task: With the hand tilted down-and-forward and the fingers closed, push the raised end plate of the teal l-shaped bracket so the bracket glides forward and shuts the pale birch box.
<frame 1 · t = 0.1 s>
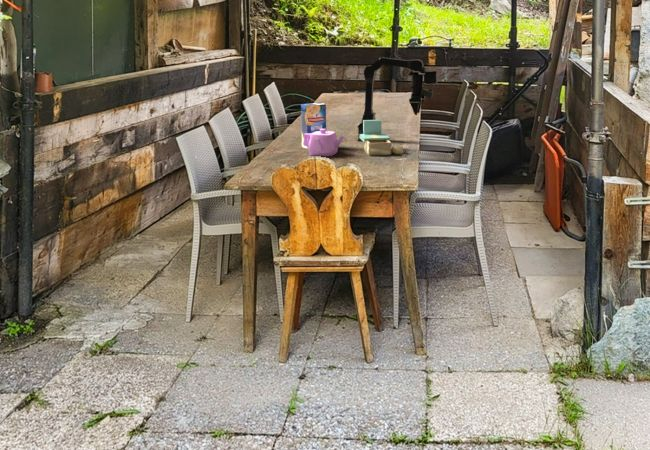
hand: (417, 113, 446), 15 cm above the table, tool pointing down, fingers open, 9 cm apart
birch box: (377, 152, 418), on the table
tape roll: (397, 153, 417), on the table
teakettle: (324, 154, 418), on the table
beverage box: (314, 147, 439), on the table
teal l-shaped bracket: (374, 130, 424), point 10 cm above the table, slide at 0.0 cm
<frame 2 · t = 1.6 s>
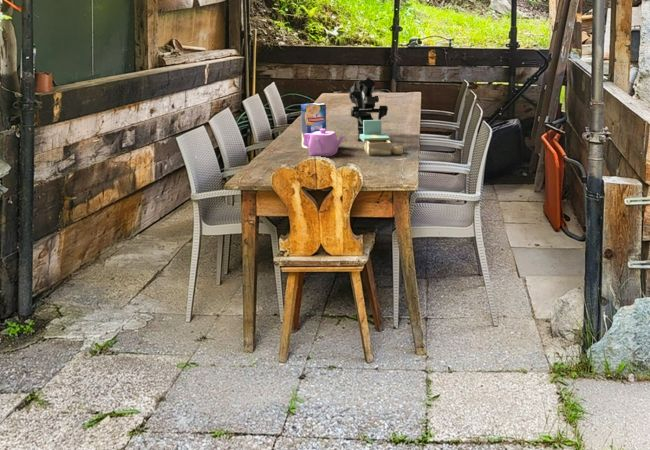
hand: (371, 124, 435), 11 cm above the table, tool tilted 45°, fingers open, 8 cm apart
nothing on the table moved.
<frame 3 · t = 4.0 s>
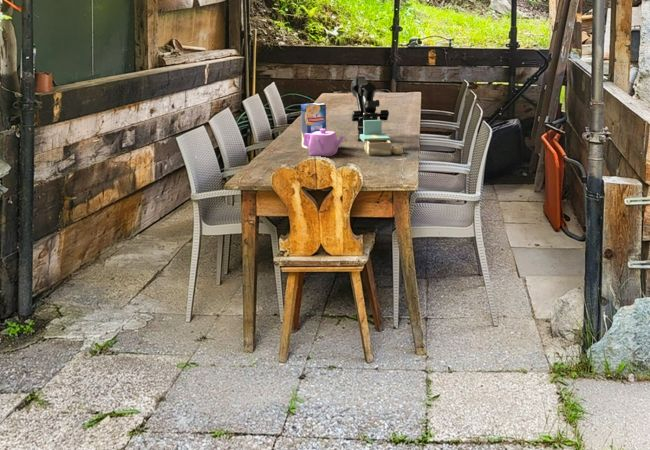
hand: (372, 128, 431), 10 cm above the table, tool tilted 45°, fingers closed, pressing on teal l-shaped bracket
teal l-shaped bracket: (374, 131, 424), point 10 cm above the table, slide at 0.6 cm, touching gripper
everything else where it was.
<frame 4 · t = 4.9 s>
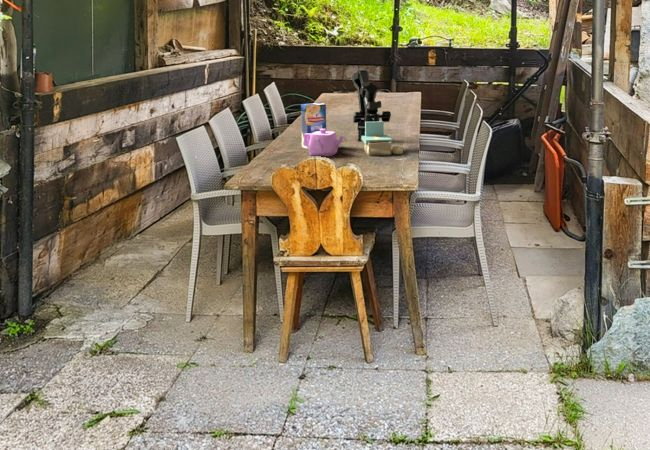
hand: (373, 130, 426), 10 cm above the table, tool tilted 45°, fingers closed, pressing on teal l-shaped bracket
teal l-shaped bracket: (376, 132, 419), point 10 cm above the table, slide at 5.8 cm, touching gripper
everything else where it was.
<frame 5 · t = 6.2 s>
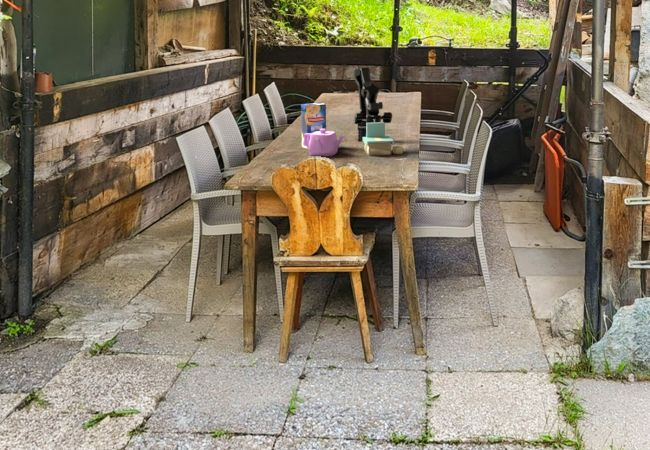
hand: (375, 131, 422), 10 cm above the table, tool tilted 45°, fingers closed, pressing on teal l-shaped bracket
teal l-shaped bracket: (377, 133, 415), point 10 cm above the table, slide at 9.6 cm, touching gripper
everything else where it was.
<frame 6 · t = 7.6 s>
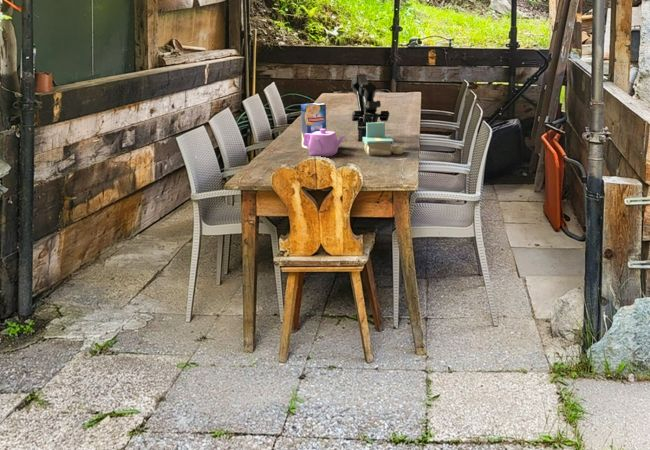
hand: (372, 129, 430), 10 cm above the table, tool tilted 45°, fingers closed
teal l-shaped bracket: (377, 133, 415), point 10 cm above the table, slide at 9.6 cm
everything else where it was.
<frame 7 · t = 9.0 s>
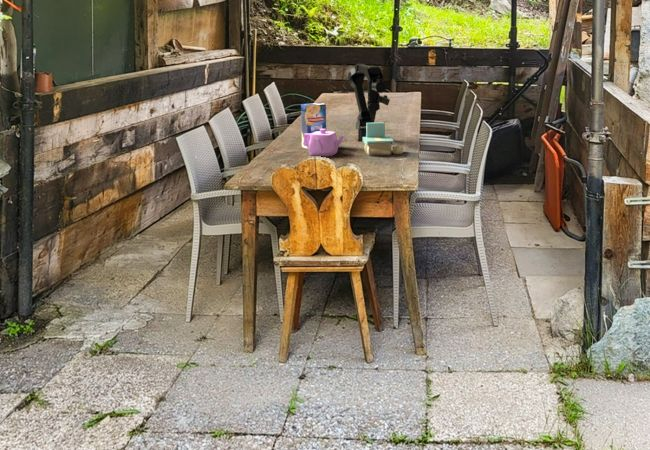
hand: (373, 121, 442), 12 cm above the table, tool pointing down, fingers closed
nothing on the table moved.
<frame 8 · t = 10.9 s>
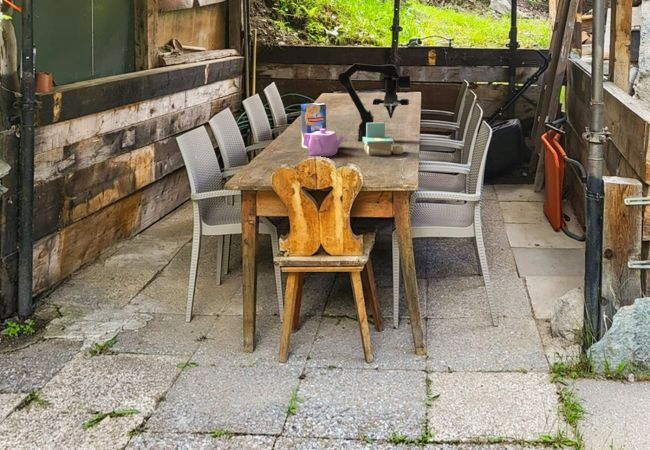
hand: (390, 118, 452), 12 cm above the table, tool pointing down, fingers closed
nothing on the table moved.
at the end: teal l-shaped bracket slide at 9.6 cm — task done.
